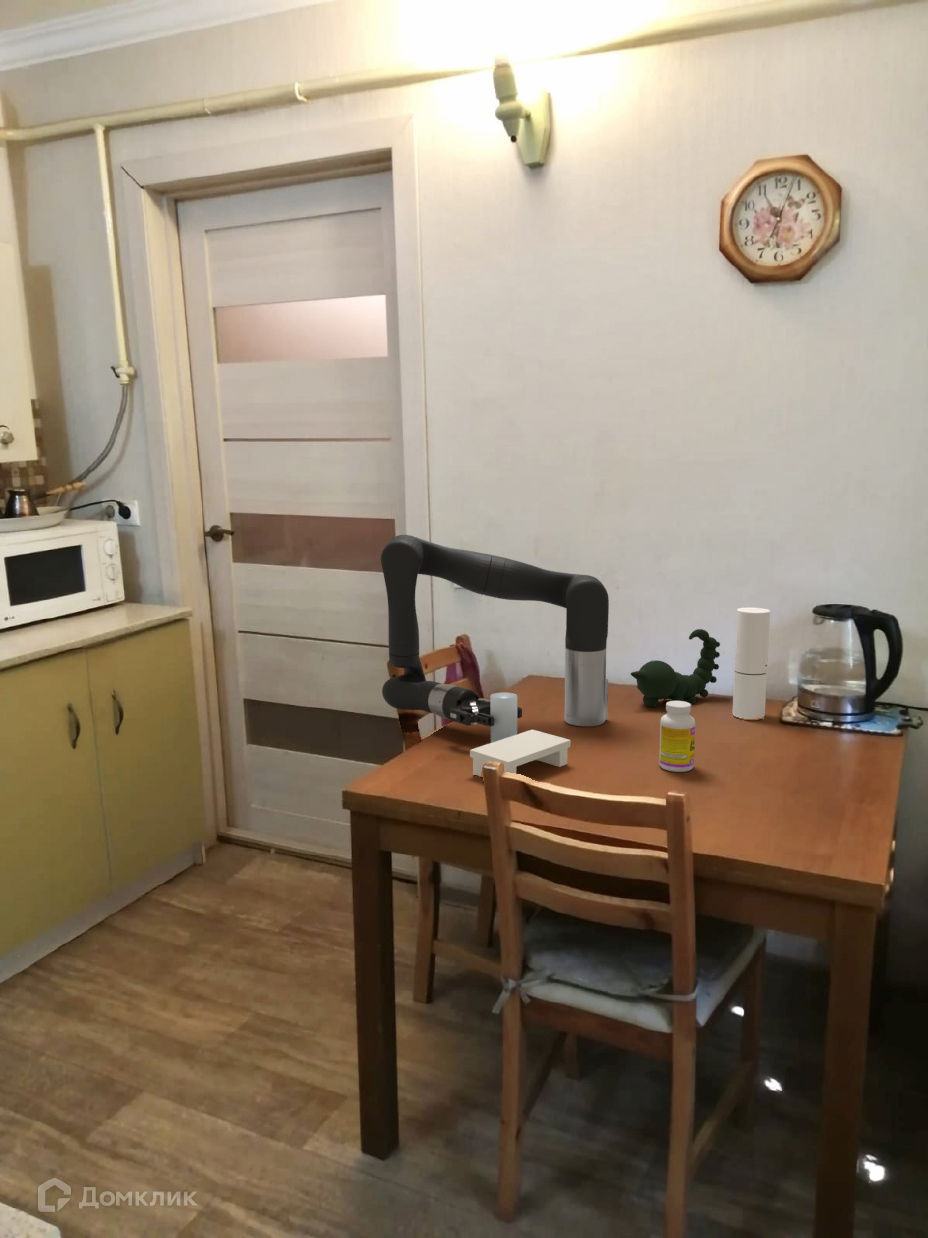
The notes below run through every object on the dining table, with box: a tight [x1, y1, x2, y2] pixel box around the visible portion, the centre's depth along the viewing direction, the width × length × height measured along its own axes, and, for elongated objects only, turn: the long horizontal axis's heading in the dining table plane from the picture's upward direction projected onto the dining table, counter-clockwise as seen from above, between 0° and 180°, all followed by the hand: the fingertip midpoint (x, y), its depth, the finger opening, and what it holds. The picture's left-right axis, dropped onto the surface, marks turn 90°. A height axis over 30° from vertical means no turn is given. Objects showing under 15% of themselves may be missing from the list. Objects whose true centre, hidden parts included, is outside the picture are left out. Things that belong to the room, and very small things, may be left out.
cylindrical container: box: [731, 607, 771, 719], centre depth 211 cm, size 7×7×25 cm
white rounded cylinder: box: [489, 691, 518, 743], centre depth 193 cm, size 6×6×11 cm
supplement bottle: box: [658, 700, 696, 773], centre depth 179 cm, size 7×7×13 cm
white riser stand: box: [469, 729, 571, 776], centre depth 179 cm, size 18×10×5 cm, turn 135°
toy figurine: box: [630, 628, 721, 708], centre depth 224 cm, size 9×19×25 cm
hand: (507, 717), depth 192 cm, fingers open, 8 cm apart
